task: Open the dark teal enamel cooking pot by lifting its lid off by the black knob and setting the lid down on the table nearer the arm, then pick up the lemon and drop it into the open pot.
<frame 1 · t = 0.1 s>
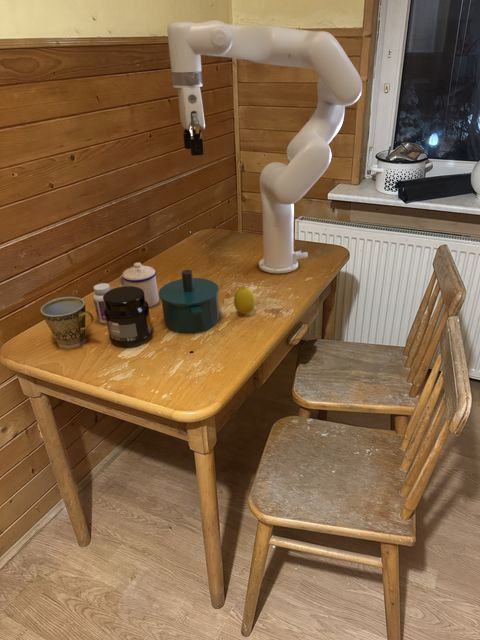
hand: (193, 151, 137), 37 cm above the table, tool pointing down, fingers open, 9 cm apart
supplement container: (131, 338, 126), on the table
pill bottle: (108, 320, 135), on the table
cooker lid: (189, 292, 129), point 8 cm above the table, touching cooker
teacup with lid: (139, 301, 143), on the table
cooker: (192, 319, 133), on the table
ceramic cup: (77, 343, 125), on the table
lemon: (245, 315, 135), on the table
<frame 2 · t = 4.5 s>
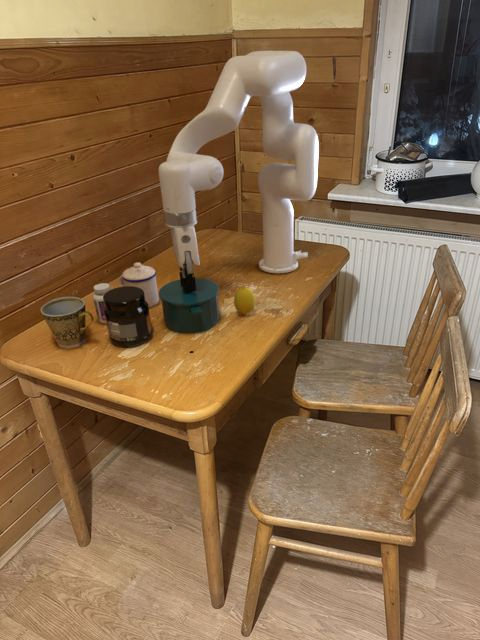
hand: (188, 288, 128), 9 cm above the table, tool pointing down, fingers closed on cooker lid, 2 cm apart
cooker lid: (189, 292, 129), point 8 cm above the table, touching cooker, gripper
everything else where it was.
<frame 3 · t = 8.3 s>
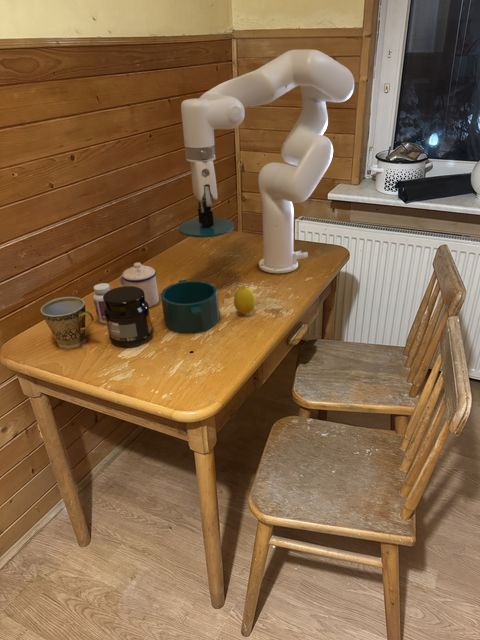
hand: (206, 223, 138), 20 cm above the table, tool pointing down, fingers closed on cooker lid, 2 cm apart
cooker lid: (206, 228, 138), point 19 cm above the table, touching gripper
everything else where it was.
when the fingers open (2 cm above the table, at t = 12.4 s): cooker lid stays where it is, point 1 cm above the table.
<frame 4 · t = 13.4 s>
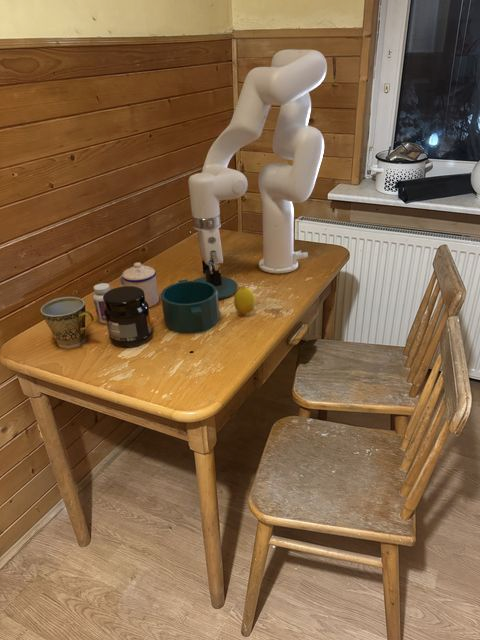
hand: (212, 279, 147), 3 cm above the table, tool pointing down, fingers open, 9 cm apart
cooker lid: (211, 288, 148), point 1 cm above the table
everything else where it was.
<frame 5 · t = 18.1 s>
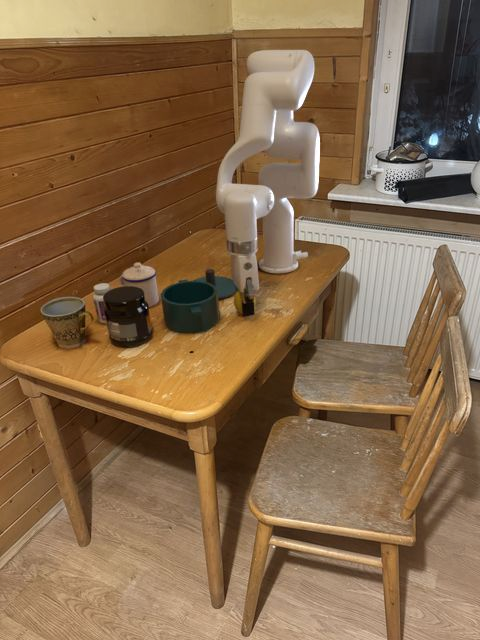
hand: (245, 309, 134), 2 cm above the table, tool pointing down, fingers closed on lemon, 5 cm apart
lemon: (245, 315, 135), on the table, touching gripper
everything else where it was.
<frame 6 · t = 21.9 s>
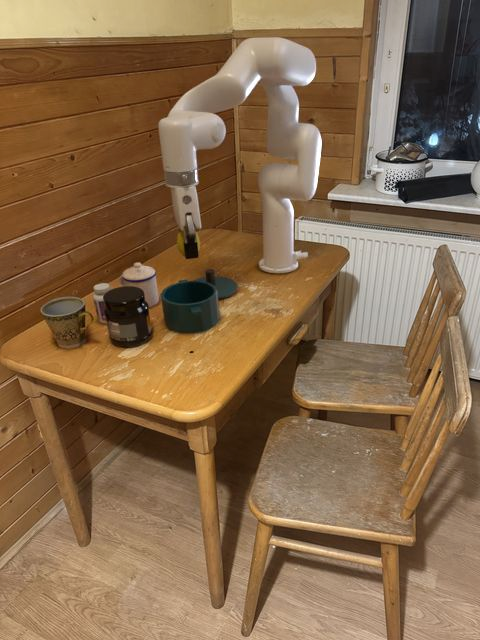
hand: (189, 252, 123), 18 cm above the table, tool pointing down, fingers closed on lemon, 5 cm apart
lemon: (190, 259, 124), point 17 cm above the table, touching gripper
everything else where it was.
when the fingers open (4 cm above the table, at t = 25.7 s): lemon drops 2 cm, resting on cooker.
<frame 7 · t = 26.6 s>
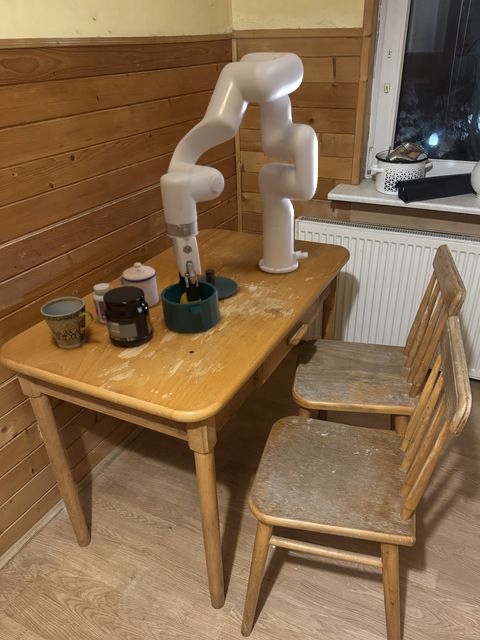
hand: (189, 292, 129), 8 cm above the table, tool pointing down, fingers open, 9 cm apart
lemon: (192, 318, 133), resting on cooker
everything else where it was.
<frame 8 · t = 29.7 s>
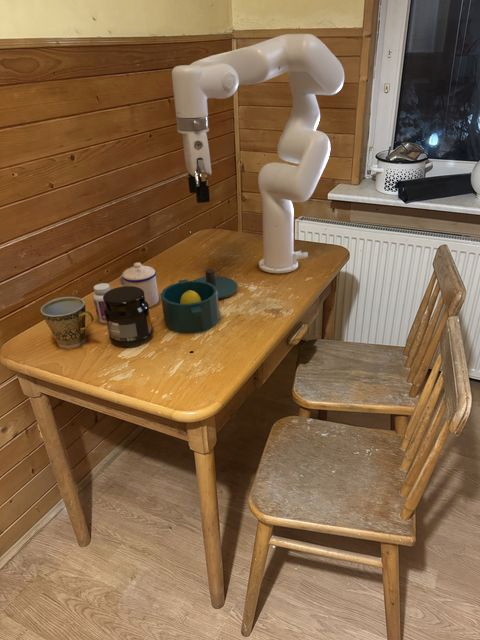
hand: (199, 197, 129), 28 cm above the table, tool pointing down, fingers open, 9 cm apart
nothing on the table moved.
at the end: cooker lid inside the target area (0.2 cm from its centre), point 0.6 cm above the table; cooker lid tilted 0°; lemon inside the target area in the cooker (0.2 cm from its centre), point 0.3 cm above the cooker's base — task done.
